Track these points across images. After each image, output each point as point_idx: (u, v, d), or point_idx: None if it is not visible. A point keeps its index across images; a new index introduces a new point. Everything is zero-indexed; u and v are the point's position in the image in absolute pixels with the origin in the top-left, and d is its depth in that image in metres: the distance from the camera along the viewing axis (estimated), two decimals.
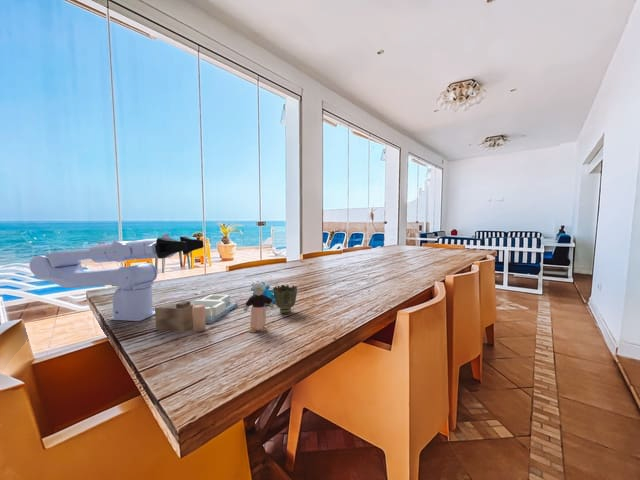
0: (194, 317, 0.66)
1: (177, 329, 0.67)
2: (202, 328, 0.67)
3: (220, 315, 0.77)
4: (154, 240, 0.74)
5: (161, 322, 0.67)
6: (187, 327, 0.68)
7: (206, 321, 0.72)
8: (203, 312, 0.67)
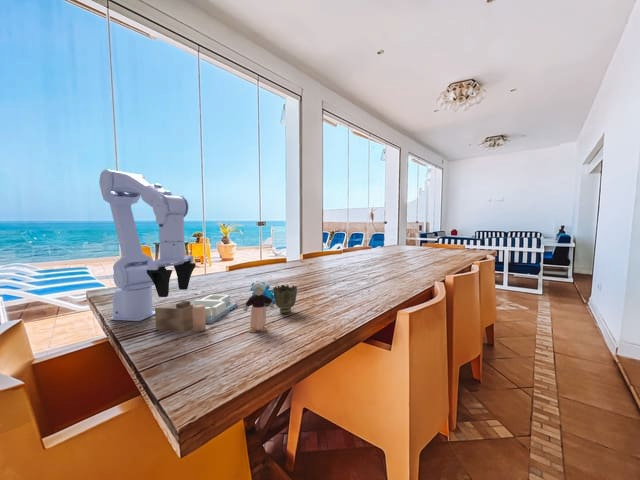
0: (194, 317, 0.66)
1: (177, 329, 0.67)
2: (202, 328, 0.67)
3: (220, 315, 0.77)
4: (176, 251, 0.66)
5: (161, 322, 0.67)
6: (187, 327, 0.68)
7: (206, 321, 0.72)
8: (203, 312, 0.67)
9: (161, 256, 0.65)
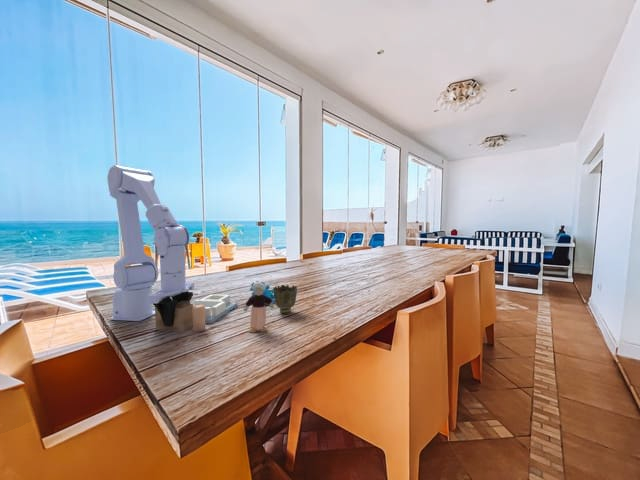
0: (194, 317, 0.66)
1: (177, 329, 0.67)
2: (202, 328, 0.67)
3: (220, 315, 0.77)
4: (177, 282, 0.66)
5: (161, 322, 0.67)
6: (187, 327, 0.68)
7: (206, 321, 0.72)
8: (203, 312, 0.67)
9: (162, 287, 0.66)
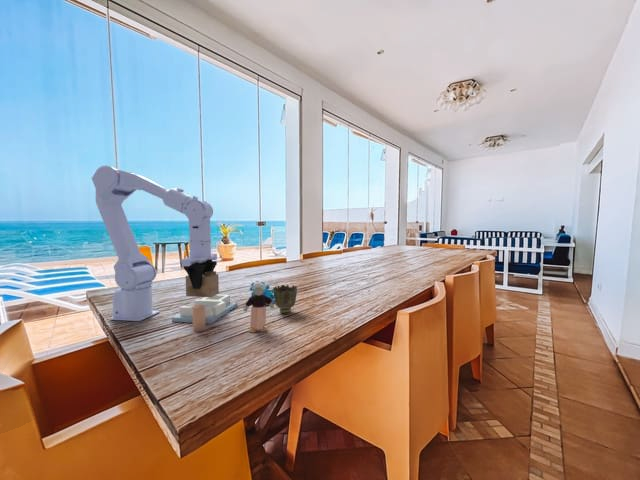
0: (194, 317, 0.66)
1: (205, 295, 0.75)
2: (202, 328, 0.67)
3: (220, 315, 0.77)
4: (204, 250, 0.75)
5: (191, 289, 0.76)
6: (214, 294, 0.76)
7: (206, 321, 0.72)
8: (203, 312, 0.67)
9: (191, 254, 0.74)
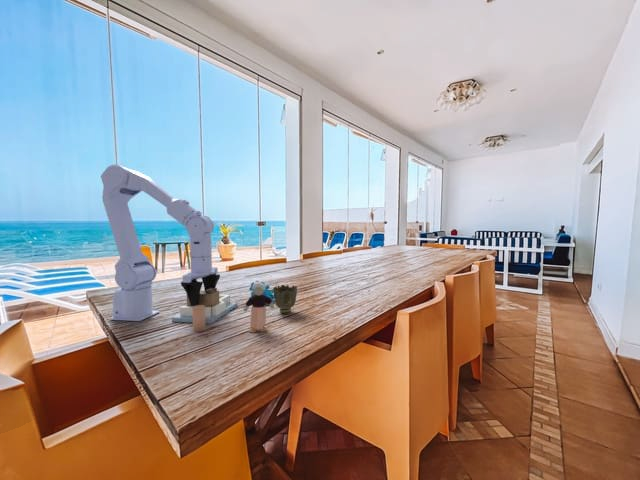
0: (194, 317, 0.66)
1: None
2: (202, 328, 0.67)
3: (220, 315, 0.77)
4: (205, 265, 0.75)
5: None
6: None
7: (206, 321, 0.72)
8: (203, 312, 0.67)
9: (192, 269, 0.75)
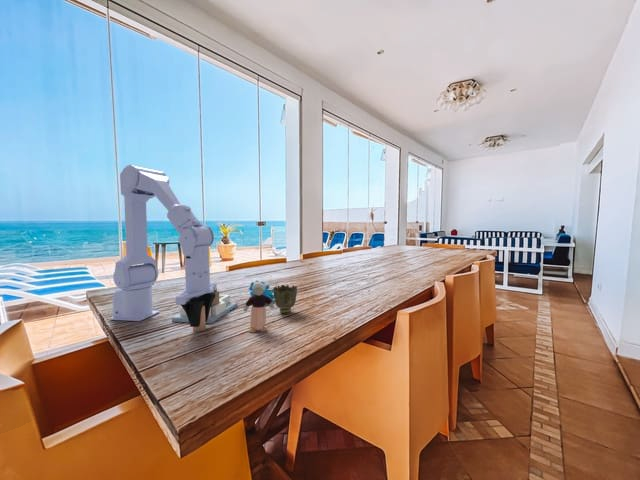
0: None
1: None
2: (202, 328, 0.67)
3: (220, 315, 0.77)
4: (202, 283, 0.65)
5: None
6: None
7: (206, 321, 0.72)
8: (203, 312, 0.67)
9: (187, 288, 0.65)
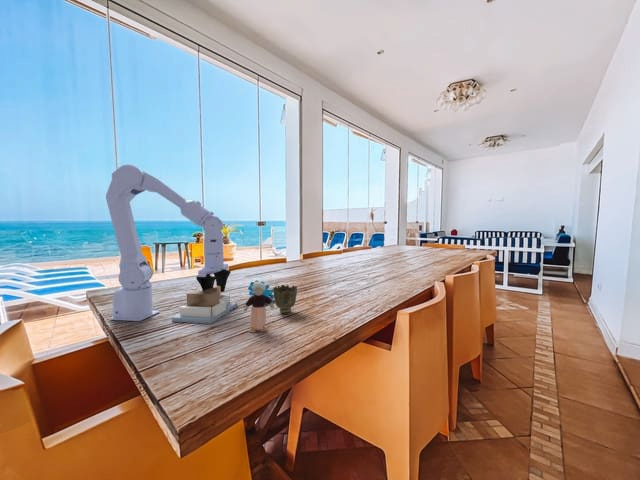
0: None
1: None
2: None
3: (220, 315, 0.77)
4: (218, 261, 0.82)
5: None
6: None
7: (206, 321, 0.72)
8: (219, 291, 0.84)
9: (206, 265, 0.82)
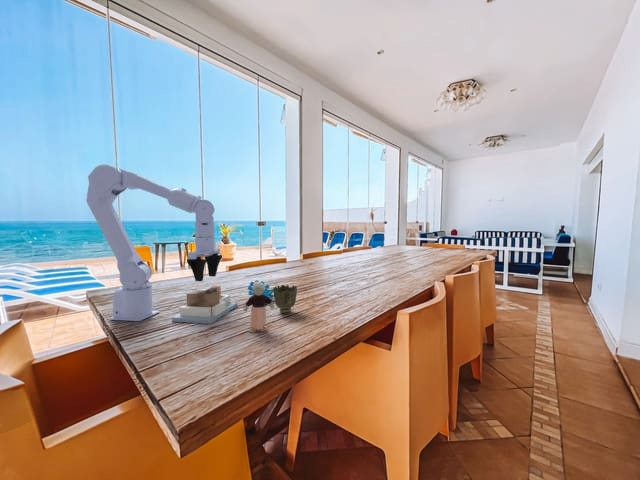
0: None
1: None
2: None
3: (220, 315, 0.77)
4: (208, 244, 0.82)
5: None
6: None
7: (206, 321, 0.72)
8: (219, 291, 0.84)
9: (197, 248, 0.82)
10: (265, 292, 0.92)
